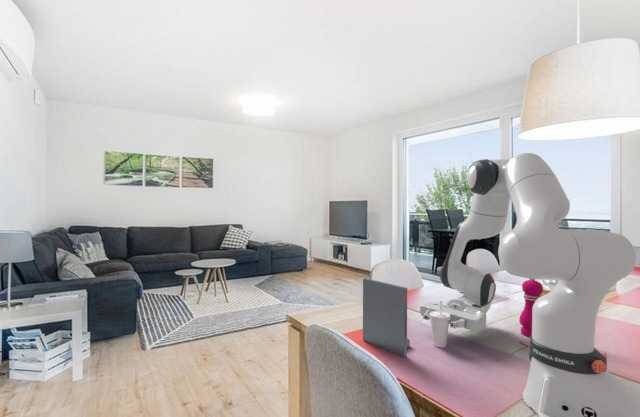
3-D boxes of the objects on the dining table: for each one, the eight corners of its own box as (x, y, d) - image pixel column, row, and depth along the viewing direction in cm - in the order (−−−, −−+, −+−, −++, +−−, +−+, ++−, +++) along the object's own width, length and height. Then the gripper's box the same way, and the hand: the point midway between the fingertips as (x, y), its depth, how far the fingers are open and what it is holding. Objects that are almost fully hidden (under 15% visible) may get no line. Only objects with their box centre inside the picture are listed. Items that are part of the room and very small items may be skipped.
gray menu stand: (419, 349, 102) (419, 284, 101) (404, 357, 97) (404, 288, 96) (378, 333, 114) (378, 275, 113) (362, 340, 109) (362, 278, 108)
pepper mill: (521, 328, 119) (521, 272, 118) (545, 334, 114) (546, 275, 113) (517, 335, 113) (518, 276, 112) (543, 340, 108) (544, 279, 108)
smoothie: (436, 350, 101) (437, 304, 101) (424, 341, 108) (425, 298, 107) (454, 347, 103) (455, 302, 103) (442, 339, 109) (442, 296, 109)
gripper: (432, 295, 121) (409, 303, 112) (490, 309, 106) (470, 319, 97) (432, 313, 122) (409, 321, 113) (490, 329, 106) (470, 341, 97)
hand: (438, 321), depth 105 cm, fingers open, 8 cm apart
